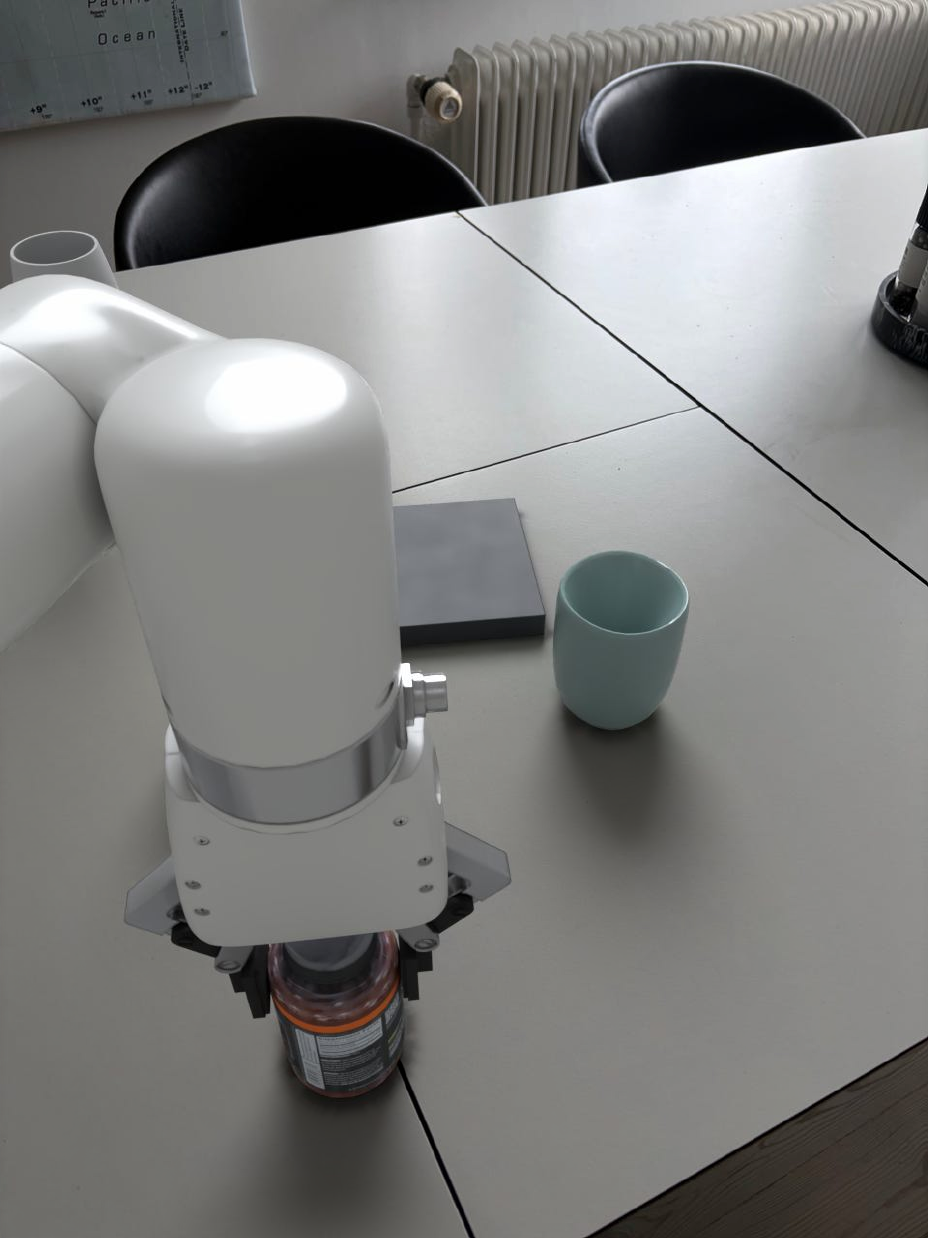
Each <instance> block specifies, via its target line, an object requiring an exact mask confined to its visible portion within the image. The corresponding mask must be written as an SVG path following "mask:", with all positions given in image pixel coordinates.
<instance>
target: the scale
mask: <svg viewBox="0 0 928 1238" xmlns="http://www.w3.org/2000/svg"><path fill="white" fill-rule="evenodd" d="M393 518H394V536H395V553H396V571H397V589H398V608H399V626H400V644H401V647H406V646H418V645H429V644H440V643H453V642H464V641H477V640H491V639H502V638H511V637H512V638H515V637H523V636H525V637H526V636H536V635H537V636H538V635H544V634H545V631H546V616H547V614H546V611H545V607H544V604H543V603H544V602H543V598H542V596H541V591H540V588H539V584H538V580H537V577H536V573H535V569H534V565H533V562H532V559H531V555H530V551H529V547H528V543H527V540H526V536H525V531H524V528H523V524H522V521H521V517H520V513H519V510H518V505H517V502H516V498H515V497H511V498H509V497H508V498H495V499H494V498H493V499H478V500H466V501H465V500H464V501H451V502H439V503H427V504H426V503H425V504H424V503H423V504H410V505H409V504H408V505H398V506H393Z"/></svg>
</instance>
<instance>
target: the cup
mask: <svg viewBox="0 0 928 1238" xmlns="http://www.w3.org/2000/svg"><path fill="white" fill-rule="evenodd" d="M689 593H690V592H689V589H688V587H687V586H686V584H685V582H684V581H683V579H682V578H681V577H680V575H678V574H677V573H676V571H675V570H673V569H671V568H670V567H669V566H668V565H667V564H665V563H663V562H661V561H659V560H658V559H656V558H653V557H651V556H648V555H646V554H643V553H639V552H635V551H628V550H608V551H601V552H597V553H595V554H591V555H589V556H586V557H584V558H582V559H580V560H579V561H577V562H576V563H574V564H573V565H572V566H571V567H569V568H568V569H567V571H566V572H565V573H564V574H563V576H562V578H561V579H560V582H559V585H558V589H557V595H556V600H555V601H556V602H555V610H554V611H555V612H554V623H553V635H552V639H553V640H552V668H553V675H554V681H555V686H556V688H557V691H558V694H559V696H560V698H561V700H562V702H563V703H564V704H565V706H566V707H567V709H568V710H569V711H570V712H571V713H572V714H573V715H574V716H575V717H576V718H578V719H580V720H581V721H583V722H584V723H586V724H588V725H590V726H592V727H594V728H597V729H601V730H606V731H619V730H625V729H628V728H631V727H634V726H636V725H638V724H640V723H642V722H643V721H645V720H646V719H648V718H649V717H650V716H652V714H654V712H655V711H656V710H657V709H658V708H659V706H660V705H661V704H662V703H663V701H664V699H665V697H666V695H667V693H668V691H669V689H670V686H671V684H672V682H673V679H674V676H675V673H676V671H677V666H678V664H679V659H680V656H681V653H682V652H681V651H682V647H683V643H684V638H685V634H686V630H687V629H686V628H687V624H688V619H689V612H690V601H691V599H690V598H691V597H690V594H689Z"/></svg>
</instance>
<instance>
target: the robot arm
mask: <svg viewBox="0 0 928 1238" xmlns="http://www.w3.org/2000/svg"><path fill="white" fill-rule="evenodd" d="M379 401H380V400H379V399H378V398H377V396H376V393H375V392H374V390H373V389H372V388H371V386H370V385H369V384H368V382H367V380H365V379H364V377H362V376H361V375H360V374H359V372H357V371H356V370H355V369H354V368H353V367H352V366H351V365H350V364H348V363H347V362H345V361H343V360H342V359H340V358H338V357H337V356H335V355H332V354H330V353H328V352H326V351H324V350H322V349H319V348H316V347H314V346H311V345H307V344H305V343H304V344H303V343H300V342H297V341H290V340H285V339H278V338H266V337H265V338H264V337H246V338H245V337H243V338H242V337H241V338H238V337H237V338H227V337H225V336H222V335H220V334H217V333H214V332H212V331H210V330H207V329H204V328H202V327H200V326H198V325H195V324H194V323H191V322H189V321H188V320H185V319H183V318H181V317H179V316H176V315H174V314H172V313H170V312H168V311H166V310H164V309H161V308H160V307H158V306H156V305H153V304H151V303H149V302H148V301H145V300H143V299H141V298H139V297H136V296H134V295H133V294H130V293H127V292H125V291H123V290H121V289H119V290H118V289H116V288H113V287H111V286H108V285H106V284H103V283H100V282H97V281H94V280H90V279H87V278H84V277H78V276H72V275H40V276H35V277H30V278H26V279H23V280H20V281H18V282H15V283H13V282H12V283H10V284H8V285H6V286H4V287H2V288H0V656H2V654H4V653H5V652H6V651H7V650H8V649H9V648H10V647H11V646H12V645H13V644H14V643H15V642H16V641H17V640H18V639H19V638H21V637H22V635H24V634H25V633H26V632H27V631H28V630H29V629H30V628H31V627H32V625H34V624H35V623H36V622H37V621H38V620H39V619H40V618H41V617H42V616H43V615H44V614H46V612H47V611H48V610H49V609H50V608H52V606H53V605H54V604H55V603H56V602H57V601H58V600H59V599H60V598H61V597H62V596H63V595H64V594H65V592H66V591H67V590H68V589H69V588H70V587H71V586H72V585H73V584H74V583H75V582H76V581H77V580H78V579H79V578H80V577H81V576H82V575H83V574H84V573H85V572H86V571H87V570H88V569H89V567H92V565H93V564H94V563H95V562H96V561H97V560H98V559H99V558H100V557H101V556H102V555H103V554H104V553H106V552H107V551H109V550H112V549H113V548H116V547H117V548H118V552H119V556H120V559H121V562H122V566H123V570H124V574H125V576H126V580H127V583H128V585H129V586H128V587H129V590H130V594H131V597H132V600H133V604H134V606H135V610H136V614H137V618H138V620H139V624H140V627H141V631H142V634H143V638H144V641H145V644H146V647H147V651H148V654H149V658H150V660H151V664H152V667H153V668H152V669H153V670H154V671H153V672H154V674H155V678H156V681H157V685H158V687H159V691H160V694H161V698H162V701H163V705H164V707H165V710H166V714H167V717H168V720H169V724H168V727H167V729H166V733H165V738H164V747H163V748H164V751H163V766H164V767H163V771H164V803H165V805H164V806H165V817H166V825H167V835H168V839H169V847H170V852H171V853H170V855H169V856H168V857H166V858H165V859H164V860H163V861H161V862H160V863H159V864H158V865H157V866H155V867H154V868H153V869H152V870H151V871H150V872H148V873H147V874H146V875H145V876H143V877H142V878H141V879H140V880H138V882H136V883H135V884H134V885H133V886H132V887H130V888H129V889H128V890H127V893H126V899H125V907H124V913H123V922H124V924H126V925H127V926H130V927H133V928H136V929H139V930H142V931H145V932H149V933H151V934H155V935H157V936H160V937H162V936H164V935H168V936H170V942H171V943H172V944H173V945H175V946H177V947H180V948H182V949H186V950H189V951H192V952H195V953H198V954H200V955H205V956H207V957H210V958H213V959H214V965H213V968H214V970H215V971H217V972H219V973H220V974H226V975H227V974H228V977H229V979H230V983H231V986H232V989H233V992H234V993H235V994H240V993H245V996H246V999H247V1003H248V1006H249V1010H250V1012H251V1016H252V1019H253V1020H256V1019H265V1018H266V1017H267V1015H270V1014H271V1000H272V996H271V991H270V986H269V982H268V976H267V959H268V952H269V950H270V947H271V946H270V945H271V944H273V943H284V942H293V941H303V940H313V939H322V938H331V937H340V936H349V935H358V934H367V933H375V932H383V931H391V930H393V931H395V933H397V937H398V947H399V951H400V963H401V975H402V989H403V999H407V1001H408V1002H413V1001H420V986H419V973H426V972H427V973H428V972H433V971H434V963H433V960H434V959H433V951H434V950H436V949H437V948H438V947H440V944H441V942H440V934H442V933H443V932H444V931H446V930H448V929H450V928H452V927H453V926H454V925H455V924H457V923H459V922H460V921H462V920H463V919H465V918H467V917H468V916H469V915H471V914H472V913H474V910H475V906H474V905H475V904H476V903H478V902H482V903H483V902H485V901H486V900H487V899H489V898H491V897H493V896H494V895H495V894H497V893H499V892H500V891H502V890H503V889H505V888H507V887H508V886H509V885H511V884H512V882H513V881H512V874H511V869H510V863H509V857H508V853H507V852H506V851H504V850H503V849H500V848H498V847H496V846H494V845H492V844H491V843H488V842H487V841H485V840H483V839H480V838H479V837H477V836H474V835H473V834H471V833H469V832H467V831H465V830H463V829H461V828H459V827H457V826H455V825H453V824H451V823H449V822H447V821H445V814H444V806H443V798H442V796H443V795H442V788H441V787H442V786H441V777H440V770H439V769H440V768H439V762H438V756H437V753H436V747H435V744H434V740H433V736H432V732H431V727H430V725H429V722H428V719H427V714H431V713H444V712H448V711H449V701H448V700H449V699H448V687H447V679H446V673H445V672H444V671H442V672H430V673H423V669H417V670H416V669H415V670H411V666H410V662H403V663H402V646H401V644H400V626H399V608H398V589H397V571H396V553H395V536H394V518H393V507H394V503H393V502H394V501H393V484H392V466H391V465H392V464H391V451H390V443H389V436H388V435H389V434H388V428H387V422H386V419H385V416H384V412H383V409H382V406H381V404H380V402H379Z"/></svg>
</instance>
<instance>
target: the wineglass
mask: <svg viewBox="0 0 928 1238" xmlns="http://www.w3.org/2000/svg"><path fill="white" fill-rule="evenodd" d="M9 258H10V269H11V277H12V283H15V282H18V281H20V280H23V279H26V278H30V277H35V276H40V275H72V276H78V277H84V278H87V279H90V280H94V281H97V282H100V283H103V284H106V285H108V286H111V287H113V288H116V289H118V290H120V288H119V285H118V282H117V281H116V278H115V275H114V273H113V271H112V268H111V267H110V263H109V262H108V260H107V257H106V255H105V253H104V250H103V249H102V247H101V245H100V243H99V241H98V239H97V238H96V237H95V236H94V235H91V234H89V233H87V232H84V231H79V230H78V231H77V230H57V231H56V230H55V231H48V232H47V231H46V232H43V233H39V234H34V235H31V236H29V237H26V238H24V239H22V240H20V241H18V242H16V243H15V245H13V246H12V247H11V249H10V251H9Z"/></svg>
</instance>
